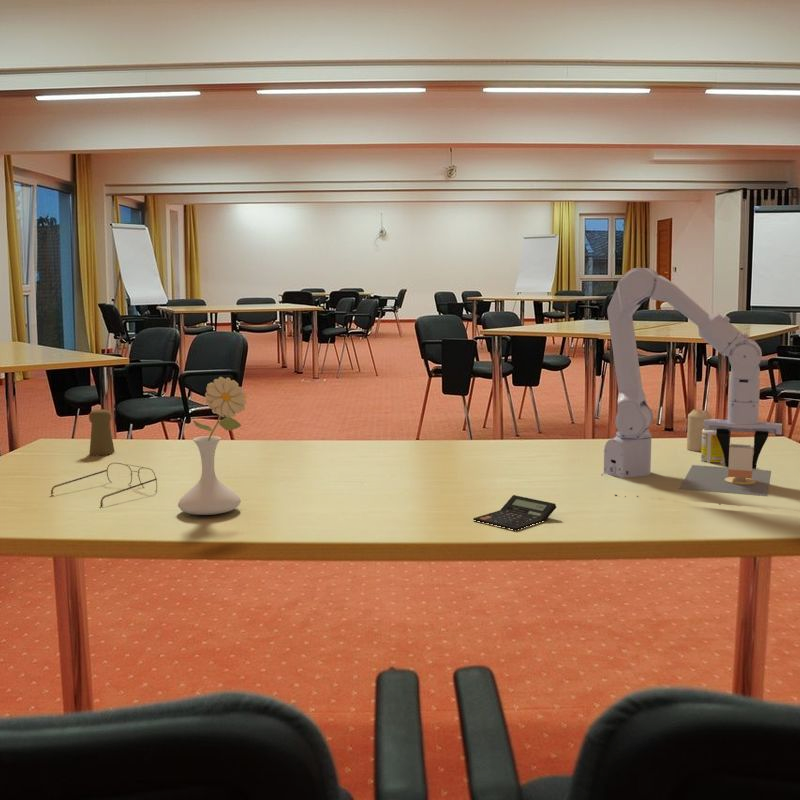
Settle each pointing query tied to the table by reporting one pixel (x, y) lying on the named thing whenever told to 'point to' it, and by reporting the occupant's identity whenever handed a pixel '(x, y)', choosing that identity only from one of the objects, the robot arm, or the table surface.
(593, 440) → the table surface
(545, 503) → the calculator
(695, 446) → the beige bottle
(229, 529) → the table surface
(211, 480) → the flower in vase
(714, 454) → the supplement bottle
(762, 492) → the pin board
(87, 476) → the eyeglasses
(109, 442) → the brown tapered column
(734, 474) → the sleeve
